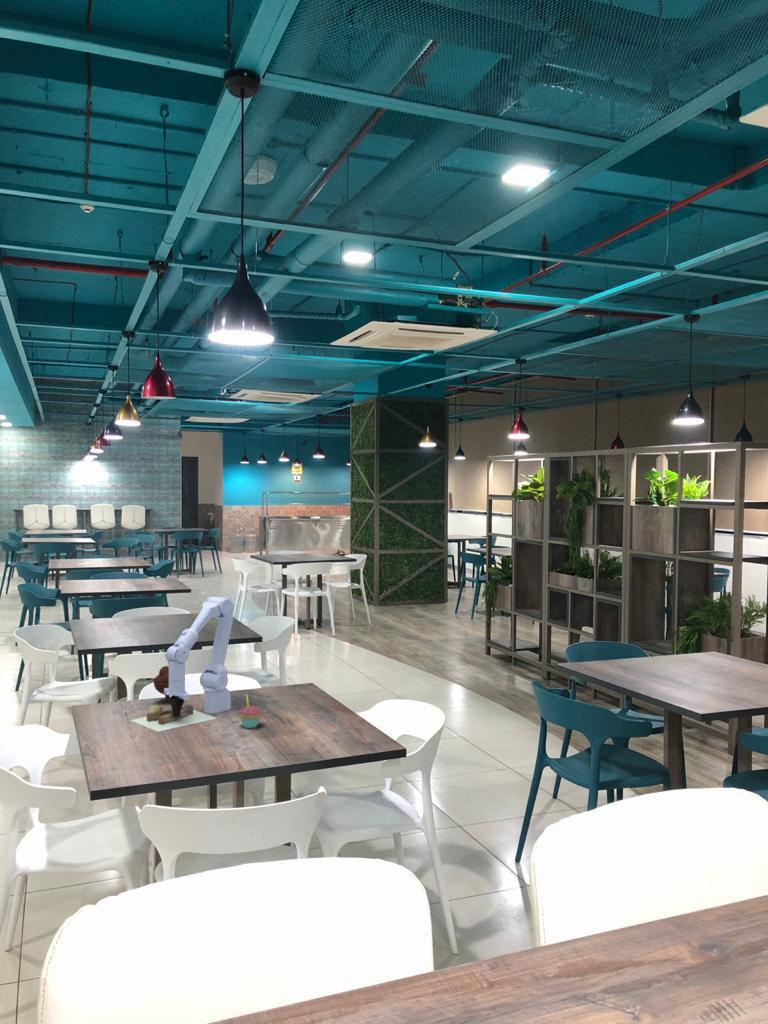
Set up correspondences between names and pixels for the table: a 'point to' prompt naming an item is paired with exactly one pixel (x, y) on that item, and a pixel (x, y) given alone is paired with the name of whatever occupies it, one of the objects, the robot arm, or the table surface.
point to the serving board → (184, 721)
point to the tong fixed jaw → (155, 716)
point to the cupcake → (250, 715)
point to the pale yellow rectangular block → (155, 709)
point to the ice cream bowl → (162, 682)
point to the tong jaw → (170, 717)
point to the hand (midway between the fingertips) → (176, 716)
